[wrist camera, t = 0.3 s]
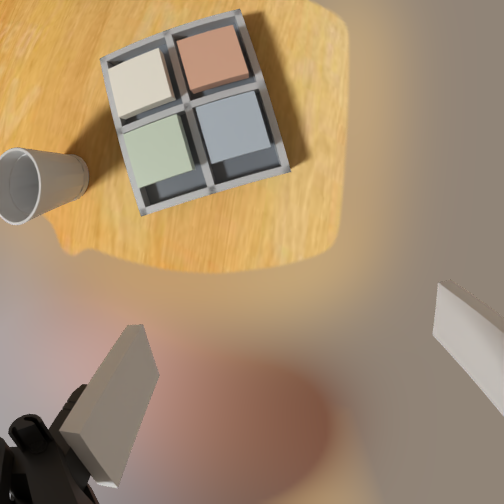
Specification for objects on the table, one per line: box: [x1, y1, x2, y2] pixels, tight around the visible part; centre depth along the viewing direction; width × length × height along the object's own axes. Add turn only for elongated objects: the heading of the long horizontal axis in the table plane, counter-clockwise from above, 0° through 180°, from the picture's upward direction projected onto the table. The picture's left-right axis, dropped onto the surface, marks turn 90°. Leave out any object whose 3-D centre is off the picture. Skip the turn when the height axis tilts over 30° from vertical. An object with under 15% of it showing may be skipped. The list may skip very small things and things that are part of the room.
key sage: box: [123, 114, 196, 188], centre depth 31 cm, size 6×6×2 cm
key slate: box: [196, 91, 271, 164], centre depth 30 cm, size 6×6×2 cm
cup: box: [0, 148, 89, 225], centre depth 31 cm, size 8×8×12 cm
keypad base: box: [100, 9, 291, 216], centre depth 33 cm, size 20×17×4 cm
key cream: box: [108, 48, 176, 119], centre depth 29 cm, size 6×6×2 cm
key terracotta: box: [177, 25, 249, 94], centre depth 28 cm, size 6×6×2 cm
